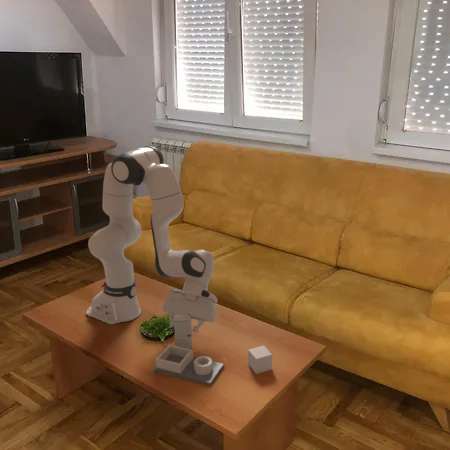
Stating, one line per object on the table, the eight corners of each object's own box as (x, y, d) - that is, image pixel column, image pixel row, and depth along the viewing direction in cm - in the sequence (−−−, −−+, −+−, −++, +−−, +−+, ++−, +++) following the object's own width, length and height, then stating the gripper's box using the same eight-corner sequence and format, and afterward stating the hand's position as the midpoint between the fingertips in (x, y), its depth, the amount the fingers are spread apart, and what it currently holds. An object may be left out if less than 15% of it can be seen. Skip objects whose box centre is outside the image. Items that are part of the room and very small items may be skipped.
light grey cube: (256, 374, 170) (256, 358, 168) (248, 364, 176) (247, 349, 174) (272, 369, 173) (272, 354, 171) (263, 360, 178) (263, 345, 176)
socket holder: (153, 371, 173) (152, 360, 171) (169, 353, 182) (168, 342, 181) (210, 385, 165) (209, 374, 164) (223, 366, 175) (223, 355, 173)
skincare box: (175, 349, 185) (173, 320, 181) (175, 342, 189) (174, 313, 185) (192, 348, 185) (190, 319, 181) (192, 342, 189) (191, 313, 185)
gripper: (166, 285, 191) (154, 321, 186) (216, 294, 183) (205, 332, 178) (172, 291, 196) (161, 326, 191) (221, 300, 189) (211, 336, 184)
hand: (183, 329), depth 185 cm, fingers open, 8 cm apart
